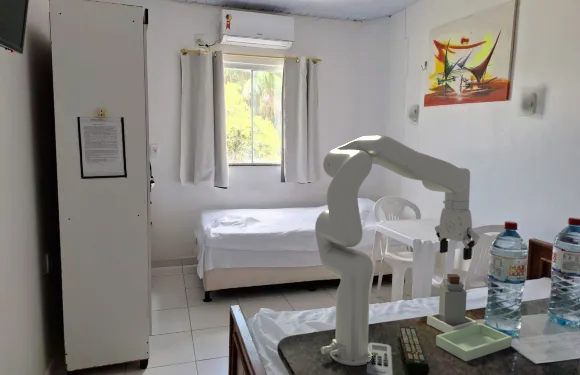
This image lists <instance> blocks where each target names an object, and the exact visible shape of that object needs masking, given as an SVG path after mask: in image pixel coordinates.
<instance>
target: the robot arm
mask: <svg viewBox="0 0 580 375" xmlns="http://www.w3.org/2000/svg"><path fill="white" fill-rule="evenodd" d="M322 163H323V164H322V165H323V166H322V167H323V169H324V172H325V173H326V174H327V176H329V177H330V178H332V179H331V182H330V183H329V185H328V188H327V192H326V203H327V209H326V210H323V211H322V212H321V213H319V215H318V217H317V218H316V221H315V227H314V230H315V231H314V232H315V237H316V244H317V248H318V253H319V259H320V261H321V264H322V267H323V268H324V270H325V271H327V272H328V273H330V274H331V275H333V276H336V277H337V278H338V279H340V282H339V285H338V286H337V288H336V289H337V290H336V293H335V338H333V339H332V340H331V341H332V342H331V343H330V344H329V345H326V346H321V347H320V352H321V354H322V355H325V354H329V356H330V357H331V358H332V359H333V360H334V361H335V362H337V363H339V364H342V365H345V366H355V367H356V366H363V365H366V364H368V363H367V362H368V361H369V360H370V359H371V358H372V356H373V357H374V354H373V355H372V354H371V352H370V351H369V347H370V346H369V325H370V323H369V318H370V289H371V283H372V278H373V274H374V263H373V261H372V259H371V257H370V256H369V255H368V254H367V253H366V252H364V251H362V250H361V249H357V248H355V247H356V246H358V245H359V244H360V243H361V241H362V238H363V226H362V221H361V219H362V218H361V213H360V208H359V207H360V206H359V200H358V199H359V198H358V196H359V191H360V188H361V186H362V184H363V182H364V181H365V180H366V178H367V177H368V176H369V174H371V170H372V168H373V165H377V166H380V167H383V168H385V169H387V170H389V171H391V172H394V173H395V174H398V175H399V176H401V177H403V178H407V179H410V180H413V181H421V183H422V185H423V186H424V188H426V189H427V190H430V191H432V192H440V193H444V200H443V201H442V203H443V205H444V207H442V209H441V214H440V219H439V225H436V226H435V227H434V230H435V233H436V234H435V235H436V236H437V238H438V241H439V253H440V254H444V253H448V252H449V240H451V241H455V242H462V244H463V245H464V247H463V250H462V251H463V252H462V254H463V255H462V260H464V261H469V260H471V259H472V256H473V248H474V247H475V246H476V245H477V243H478V242H479V240H480V235H479V234H478V233H476V232H475V231H474V230H473V221H472V219H473V218H472V213H471V210H470V191H471V190H470V189H471V186H470V184H471V170H469V169H468V168H467V167H458V166H456V165H454V164H452V163H451V162H448V161H445V160H443V159H441V158H437V157H435V156H434V157H433V156H431V155H428V154H425V153H423V152H419V151H416V150H415V149H413V148H410V147H409V146H407V145H405V144H404V143H402V142H400V141H398V140H396V139H394V138H392V137H390V136H387V135H384V134H383V135H381V134H379V135H366V136H365V135H364V136H361V137H359V138H357V139H354V140H351V141H349V142H348V143H345V144H343V145H340V146H337V147H335V148H334V149H332V150H330V151H329V152H328V153H327V154H326V155H325V157H324V158H323V162H322ZM368 356H371V357H368Z"/></svg>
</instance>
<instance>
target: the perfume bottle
mask: <svg viewBox="0 0 580 375" xmlns="http://www.w3.org/2000/svg"><path fill="white" fill-rule="evenodd" d="M446 276H447V279H445V278H442V282H443V284H440V285H439V297H438V298H439V301H438V302H439V303H438V313H439V320H440V321H443V322H445V323H447V324H449V325H451V326H457V325H461V324H464V323H465V318H466V317H467V316H466V314H467V291H466V290H465V289H464V286H465V284H464V283H463V282H462V280H460V279H461V276H460V275H459V274H457V273H447V274H446Z"/></svg>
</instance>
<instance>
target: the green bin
mask: <svg viewBox="0 0 580 375" xmlns="http://www.w3.org/2000/svg"><path fill="white" fill-rule="evenodd" d="M512 337H513V336H510V335H508V334H506V333H504V332H502V331H500V330H497V329H495V328H494V327H490V326H488V325H486V324H484V323H477V324H475V325H472V326H468V327H465V328H461V329H458V330H454V331H451V332H447V333H444V332H443V333H441V334H438V335H436V336H435V346H437V347H439V348H441V349H443V350H445V351H446V352H447V353H450V354H452V355H453V356H455V357H457V358H459V359H460V360H462V361H464V362H468V361H469V362H470V361H472V360H474V359H478V358H480V357H481V358H482V357H485V356H487V355H489V354H492V353H496V352H498V351H502V350H505V349H508V348H511V347H512V340H513V338H512ZM510 346H511V347H510Z"/></svg>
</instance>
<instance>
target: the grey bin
mask: <svg viewBox="0 0 580 375" xmlns="http://www.w3.org/2000/svg"><path fill="white" fill-rule="evenodd" d="M426 320H427V321H426V324H427V325H429V326H431V327H433V328H434V329H436V330H439V331H440V332H443V334H444V333H447V332H451V331H454V330H458V329H461V328H465V327H468V326H472V325H475V324H478V321H476V320H475V319H472V318H470V317H467V316H466V318H465V323H464V324H461V325H457V326H451V325H449V324H447V323H445V322H443V321H440V320H439V312H436V313H435V312H434V313H433V314H428V315H427V316H426Z"/></svg>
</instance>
